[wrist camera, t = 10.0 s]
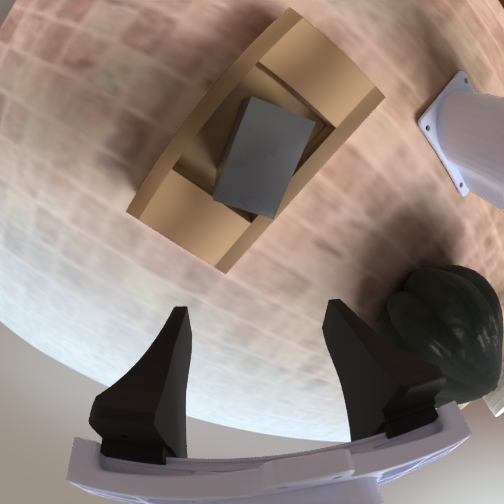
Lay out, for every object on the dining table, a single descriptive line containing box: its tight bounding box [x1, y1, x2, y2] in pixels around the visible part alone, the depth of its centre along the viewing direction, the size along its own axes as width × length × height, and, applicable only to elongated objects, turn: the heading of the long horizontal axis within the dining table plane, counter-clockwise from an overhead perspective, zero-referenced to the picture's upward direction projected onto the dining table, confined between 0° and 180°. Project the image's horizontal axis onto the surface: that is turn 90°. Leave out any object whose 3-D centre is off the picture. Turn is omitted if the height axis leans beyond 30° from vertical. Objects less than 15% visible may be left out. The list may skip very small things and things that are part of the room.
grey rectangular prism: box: [213, 96, 316, 219], centre depth 15 cm, size 3×5×6 cm, turn 159°
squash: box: [374, 265, 503, 408], centre depth 23 cm, size 14×15×15 cm
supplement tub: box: [483, 331, 504, 416], centre depth 29 cm, size 10×10×15 cm
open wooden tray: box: [126, 7, 385, 274], centre depth 17 cm, size 8×16×3 cm, turn 141°
